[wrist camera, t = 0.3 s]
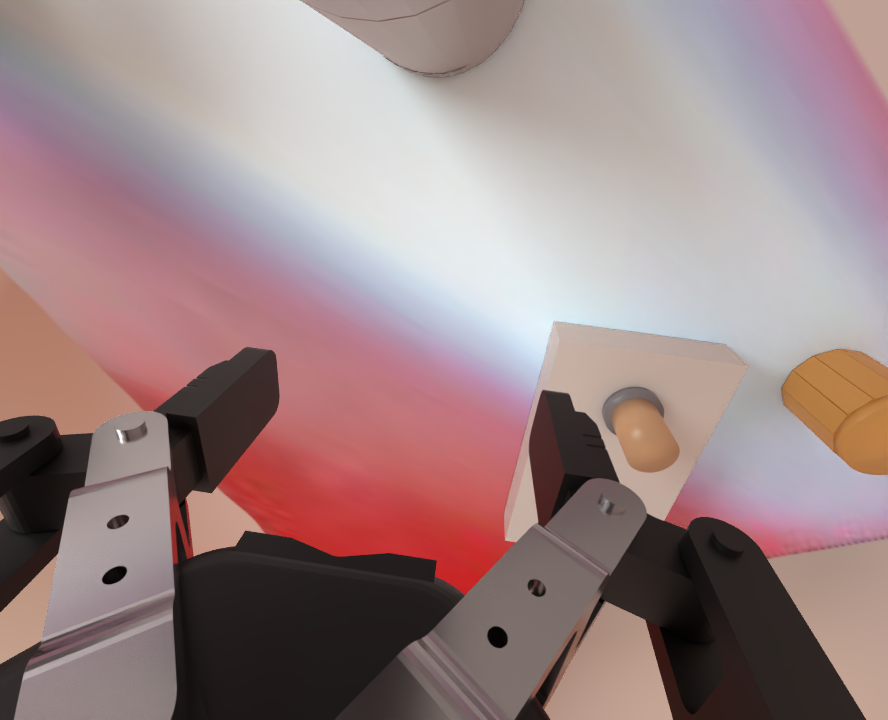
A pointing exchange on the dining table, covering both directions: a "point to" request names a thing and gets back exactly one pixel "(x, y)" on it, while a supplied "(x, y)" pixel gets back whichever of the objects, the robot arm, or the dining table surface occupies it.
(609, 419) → the plate with orange knobs
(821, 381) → the cap
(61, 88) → the dining table surface
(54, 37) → the dining table surface
